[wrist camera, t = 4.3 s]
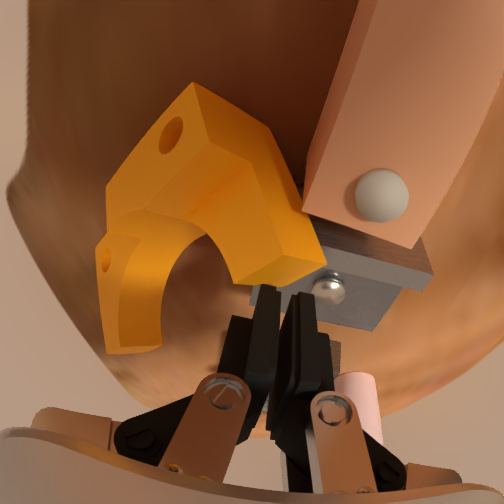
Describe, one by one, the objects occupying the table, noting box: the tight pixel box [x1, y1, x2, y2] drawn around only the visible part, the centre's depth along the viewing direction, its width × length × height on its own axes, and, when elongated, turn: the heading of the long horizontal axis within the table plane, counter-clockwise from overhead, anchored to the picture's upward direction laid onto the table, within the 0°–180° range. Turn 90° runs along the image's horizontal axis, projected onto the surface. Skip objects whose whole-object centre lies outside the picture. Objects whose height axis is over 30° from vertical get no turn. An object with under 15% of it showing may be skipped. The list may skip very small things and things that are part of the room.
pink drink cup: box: [334, 372, 383, 446], centre depth 19 cm, size 6×6×14 cm
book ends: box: [249, 186, 434, 412], centre depth 18 cm, size 17×7×4 cm, turn 171°
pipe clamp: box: [95, 81, 327, 355], centre depth 13 cm, size 12×4×6 cm
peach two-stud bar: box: [302, 0, 504, 249], centre depth 7 cm, size 12×4×5 cm, turn 167°
